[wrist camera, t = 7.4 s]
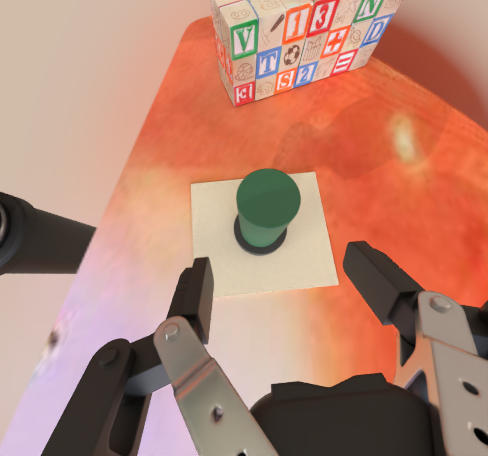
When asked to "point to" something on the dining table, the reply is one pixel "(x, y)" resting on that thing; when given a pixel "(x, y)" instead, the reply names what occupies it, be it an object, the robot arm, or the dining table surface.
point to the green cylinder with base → (265, 210)
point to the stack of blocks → (293, 41)
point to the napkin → (268, 266)
